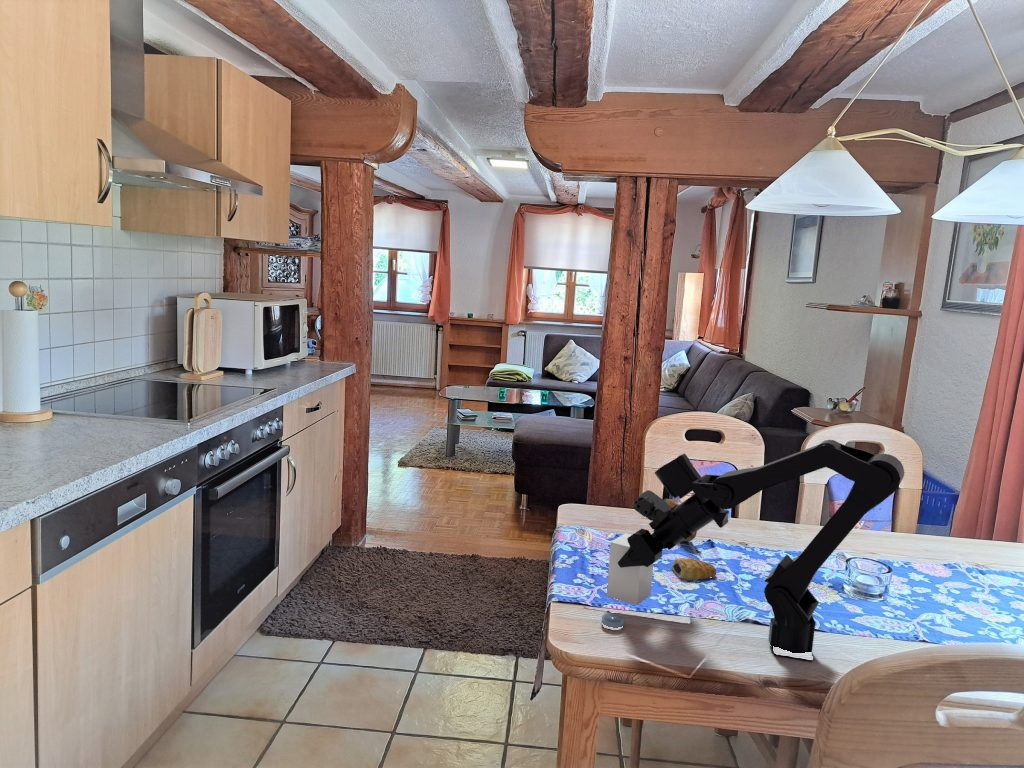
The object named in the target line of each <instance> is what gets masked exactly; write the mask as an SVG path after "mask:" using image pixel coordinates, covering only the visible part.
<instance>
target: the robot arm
mask: <svg viewBox="0 0 1024 768" xmlns="http://www.w3.org/2000/svg"><path fill="white" fill-rule="evenodd" d="M824 468H827V469H829V470H832V471H834V472H836V473H837V474H839V475H840V476H843V477H844V478H846V479H848V480H849V481H852V482H853V485H852V486H851V488H850V491H849V492H848V494H847V496H846V498H845V500H844V501H843V502H842V503H841V504H840V506H839V507H838V509H836V511H835V512H834V513H833V514H832V516H830V518H829V519H828V520H827V522H825V524H824V525H823V527H822V528H821V529H820V530H819V531H818V532H817V534H816V535H815V536H814V538H812V540H811V541H810V542H809V543H808V545H807V546H806V547H805V549H804V550H802V552H801V553H800V554H799V555H797V556H796V557H795V558H793V559H792V557H790V555H788V554H787V553H786V554H785V556H784V557H783V558H782V559H781V560H780V562H779V563H778V564H777V566H776V567H775V568H773V570H771V572H770V573H769V575H768V576H767V577H766V578H765V580H764V582H765V583H766V585H765V587H764V589H763V593H764V597H765V600H766V601H767V604H768V605H769V606H770V607H771V610H772V613H773V617H772V618H770V620H769V628H768V629H769V631H768V639H769V640H768V643H770V644H769V646H770V645H771V646H774V647H779V648H781V649H783V650H787V651H790V652H792V653H805V652H812V653H813V646H814V639H815V631H816V630H815V629H816V621H815V618H814V615H813V614H814V612H815V610H816V609H817V608H818V606H819V604H820V603H819V600H817V598H816V597H815V595H814V594H813V593H812V592H811V591H810V589H809V588H810V586H811V583H812V582H813V579H814V578H815V576H816V575H817V571H818V570H819V569H820V568H821V567H822V565H824V564H825V562H826V561H827V560H828V559H829V558H830V556H831V555H832V554H833V552H834V551H836V549H837V548H838V547H839V546H840V544H841V543H842V542H843V541H844V540H845V538H846V537H847V536H848V535H849V534H850V533H851V532H852V531H853V529H855V527H856V526H857V524H858V523H859V522H860V521H861V520H862V518H863V517H865V515H866V514H867V513H868V512H870V511H871V510H873V509H875V508H876V507H877V506H878V505H880V504H881V503H883V502H884V501H885V500H887V498H889V497H890V496H891V495H893V494H894V493H895V492H896V491H897V490H898V488H899V487H900V485H901V482H902V481H903V479H904V478H905V468H904V465H903V464H902V462H901V461H900V460H899V459H898V457H896V456H894V455H892V454H889V453H878V454H876V453H873V452H871V451H867V450H864V449H861V448H858V447H854V446H850V445H846V444H843V443H840V442H838V441H837V440H834V439H827V440H824V441H821V443H819V444H816V445H814V446H811V447H809V448H806V449H803V450H800V451H799V452H796V453H793V454H790V455H787V456H785V457H782V458H780V459H779V458H778V459H776V460H774V461H771V462H769V463H766V464H764V465H761V466H757V467H750V468H749V467H748V468H741V469H736V470H730V471H726V472H725V473H723V474H721V475H718V474H707V473H706V474H704V475H703V476H701V475H700V473H699V472H698V471H697V469H696V468H695V467H694V465H693V464H692V462H691V460H690V458H689V456H687V454H686V453H681V454H679V455H678V456H677V457H675V458H674V459H673V460H671V461H669V462H667V463H665V464H663V465H662V466H660V467H659V468H658V469H657V470H655V472H654V475H655V476H656V477H657V479H658V480H659V481H660V483H661V484H662V486H663V487H664V488H665V490H666V491H667V492H668V493H669V495H670V497H671V498H674V499H677V498H679V500H681V499H684V497H686V496H688V495H689V494H691V492H692V493H694V494H692V495H691V496H689V497H688V498H686V499H685V500H684V501H683V502H681V504H680V505H676V506H674V507H673V508H672V507H671V506H669V505H668V504H667V503H666V502H665V501H664V499H663V498H662V497H660V496H659V495H658V494H656V493H655V492H654V491H652V490H648V489H647V490H646V491H644V492H641V493H640V495H639V496H638V498H637V499H635V500H634V502H633V503H634V505H633V506H632V508H633V509H634V511H636V512H637V513H638V514H640V515H641V516H642V517H643V518H646V519H648V520H649V521H651V522H649V523H648V525H649V526H650V528H651V529H652V530H653V531H652V533H651V532H650V531H649V529H644V528H639V530H638V531H637V530H636V532H635V533H633V534H630V535H631V536H630V537H628V538H627V540H628V543H629V545H630V548H629V549H628V551H627V552H626V553H625V554H624V555H623V557H622V558H621V559H620V560H619V561H618V565H619V566H620V567H621V568H622V567H633V566H645V567H648V566H650V565H651V564H653V565H654V564H655V563H656V562H657V561H658V560H660V559H662V557H663V550H665V549H666V550H668V551H670V550H671V549H673V548H674V547H675V546H677V545H679V544H681V543H683V542H685V541H684V540H685V539H687V538H688V537H689V536H691V535H692V534H693V533H695V532H696V531H697V532H699V530H701V529H702V528H704V527H705V526H707V525H709V524H710V523H711V522H713V521H714V522H715V524H716V525H717V526H718V527H719V528H720V529H722V528H723V527H724V526H726V525H727V524H728V523H729V515H730V511H729V510H731V509H732V508H735V507H736V506H738V505H740V504H742V503H744V502H745V501H747V500H749V499H750V498H752V497H753V496H755V495H757V494H758V493H760V492H761V491H764V490H766V489H769V488H771V487H774V486H776V485H779V484H782V483H785V482H787V481H790V480H793V479H796V478H799V477H802V476H804V475H808V474H810V473H813V472H815V471H816V472H817V471H818V470H822V469H824ZM771 646H770V647H771Z"/></svg>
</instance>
